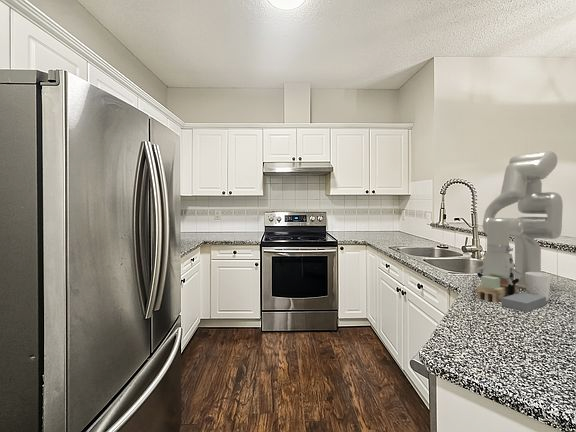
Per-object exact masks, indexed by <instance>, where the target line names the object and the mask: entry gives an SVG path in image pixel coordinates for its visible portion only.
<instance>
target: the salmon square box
mask: <svg viewBox="0 0 576 432" xmlns="http://www.w3.org/2000/svg"><path fill="white" fill-rule="evenodd" d="M514 276H515V274H514ZM513 279H514V280H515V277H514V278H513ZM500 284H504V285H509V283H508V281H507V280H506V279H500Z"/></svg>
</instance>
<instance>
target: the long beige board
mask: <svg viewBox="0 0 576 432" xmlns="http://www.w3.org/2000/svg"><path fill="white" fill-rule="evenodd" d="M517 293H520V287H519V284H515V293H514V294H517ZM514 294H513V295H514ZM507 296H510V295H508V285H504V284H500V288H498V289H491V288H485V287H481V285H478V286H476V299H477V300H481V299H484V301H486V302H488V301H491V302H492V303H500V302H502V298H504V297H507Z"/></svg>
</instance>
